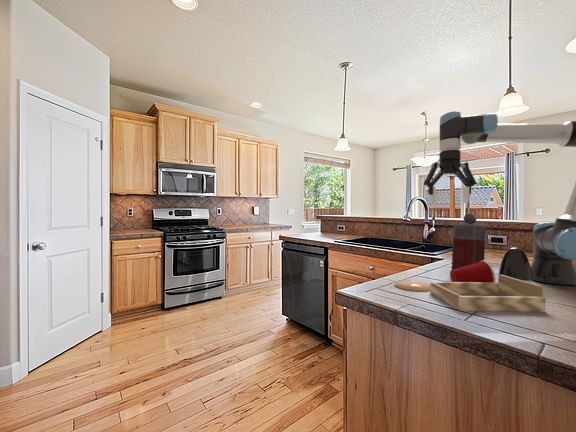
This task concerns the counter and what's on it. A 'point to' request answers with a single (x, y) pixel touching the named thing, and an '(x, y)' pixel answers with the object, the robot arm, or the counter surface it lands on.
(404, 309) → the counter surface
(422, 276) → the counter surface
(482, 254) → the red canister with knob
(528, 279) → the black bullet-shaped dome
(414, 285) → the saucer
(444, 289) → the tray
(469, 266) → the plastic cup
